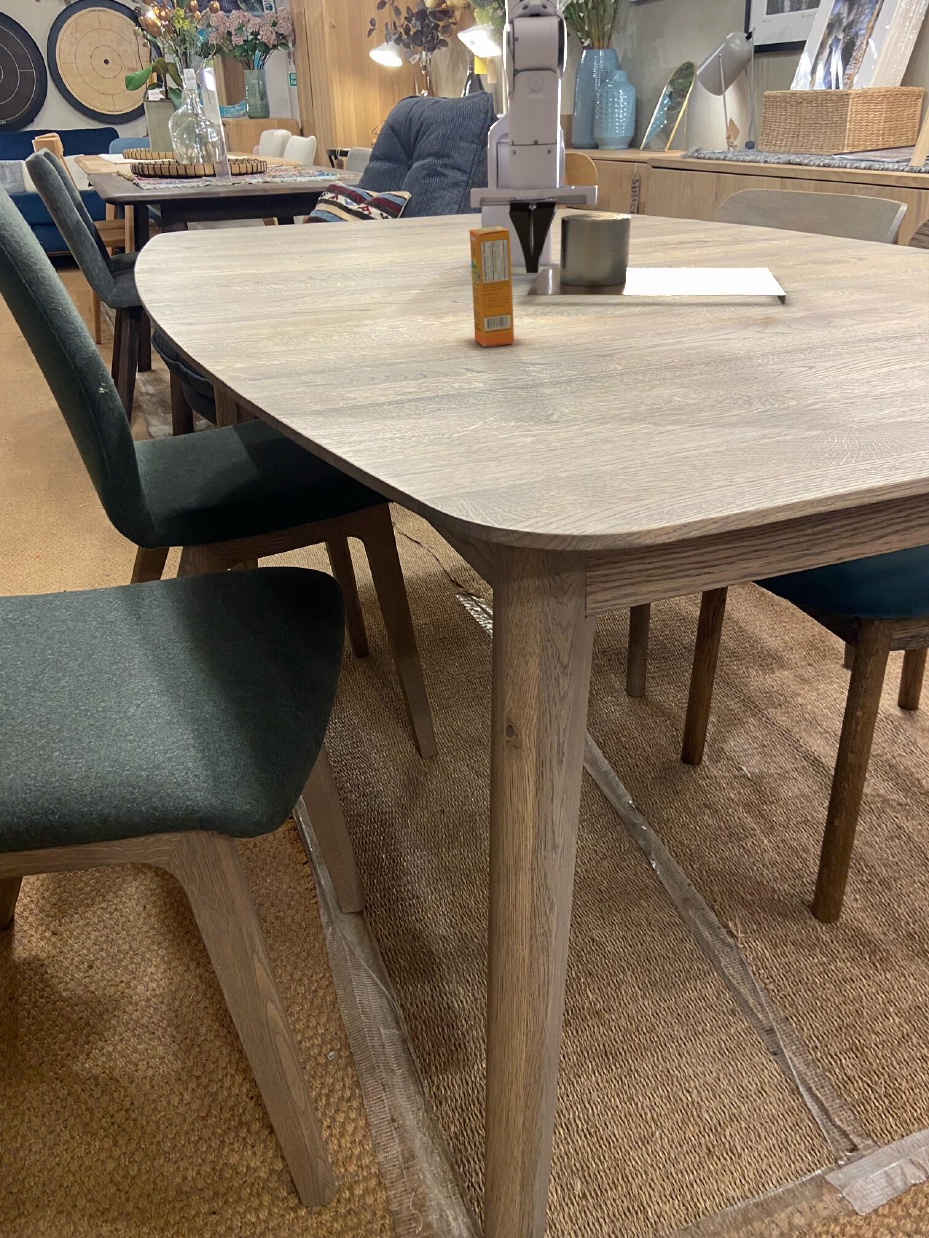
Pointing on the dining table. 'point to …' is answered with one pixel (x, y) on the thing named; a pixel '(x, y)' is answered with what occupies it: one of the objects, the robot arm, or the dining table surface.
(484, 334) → the supplement box
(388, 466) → the dining table surface
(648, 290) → the board
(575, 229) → the grey metal cylinder
